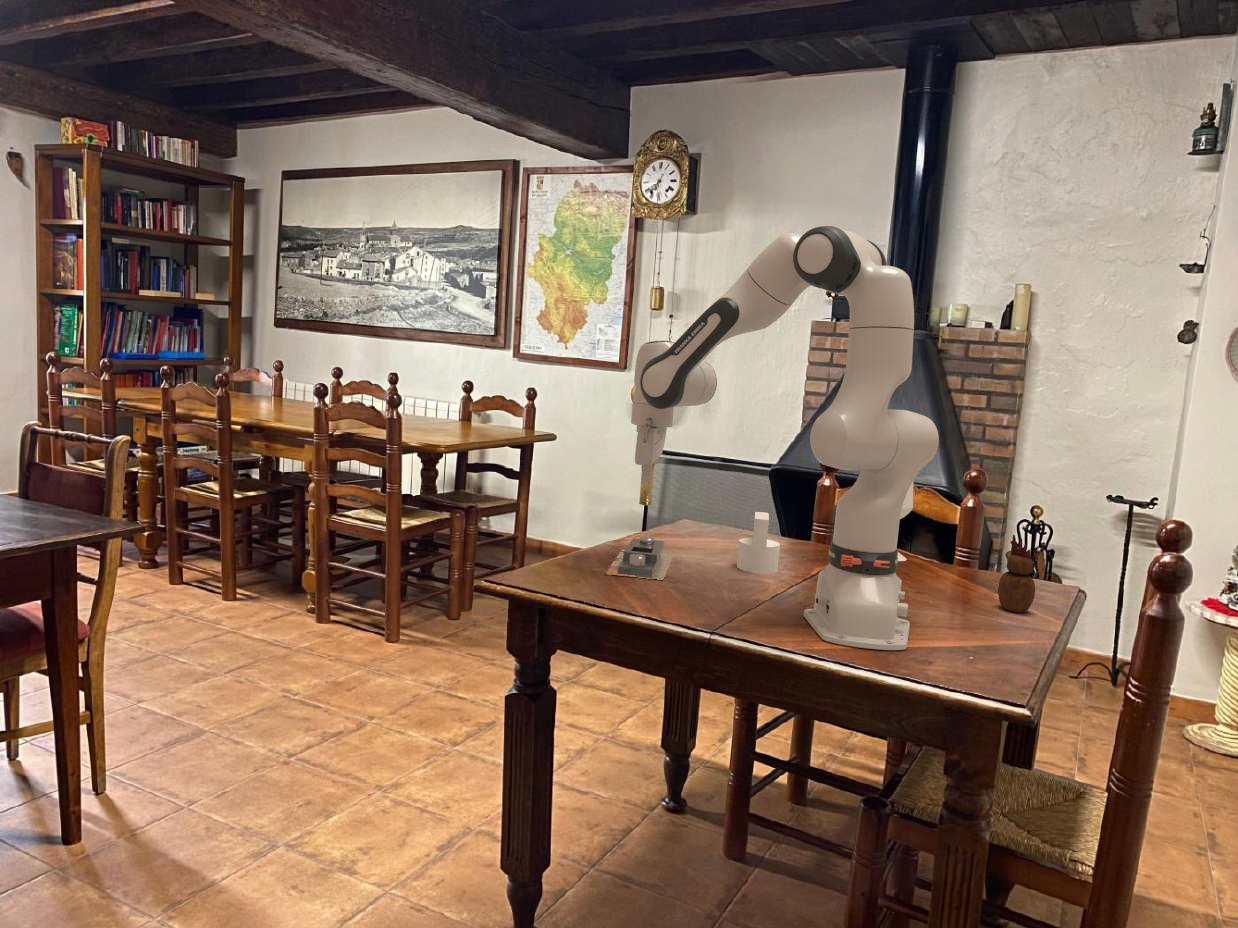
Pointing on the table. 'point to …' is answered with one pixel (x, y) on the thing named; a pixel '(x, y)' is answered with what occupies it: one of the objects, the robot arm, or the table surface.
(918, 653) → the table surface
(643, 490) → the brass pin
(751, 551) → the cylinder with rectangular tab
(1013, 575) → the wooden figurine
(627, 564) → the two-knob base plate
